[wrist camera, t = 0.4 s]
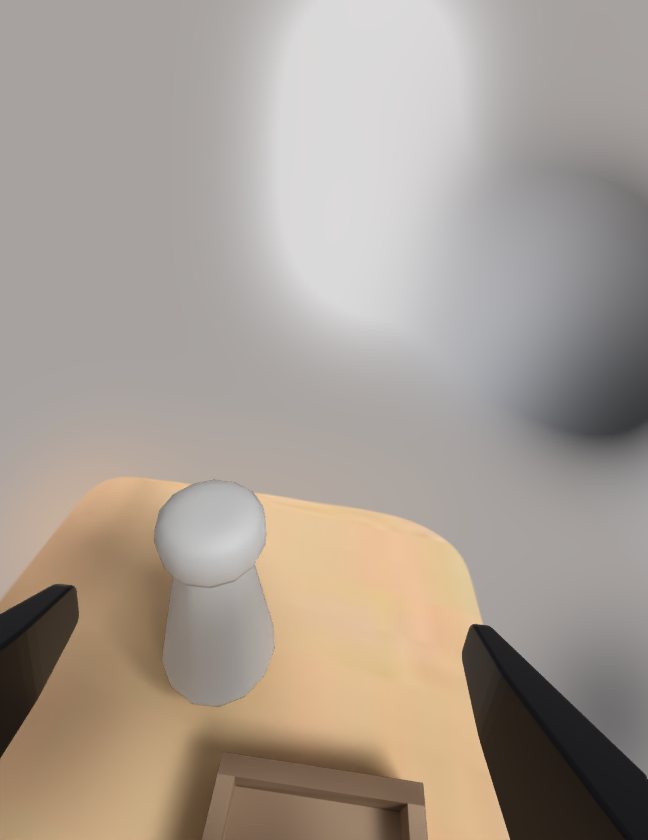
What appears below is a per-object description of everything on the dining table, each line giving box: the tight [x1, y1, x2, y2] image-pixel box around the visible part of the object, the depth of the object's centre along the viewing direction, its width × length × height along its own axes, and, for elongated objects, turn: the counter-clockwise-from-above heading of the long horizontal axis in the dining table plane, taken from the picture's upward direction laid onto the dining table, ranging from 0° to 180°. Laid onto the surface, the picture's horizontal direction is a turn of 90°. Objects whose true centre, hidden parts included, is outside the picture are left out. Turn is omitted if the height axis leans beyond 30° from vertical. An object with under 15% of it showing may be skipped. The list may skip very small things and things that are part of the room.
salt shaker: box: [154, 480, 275, 707], centre depth 19 cm, size 6×6×13 cm
